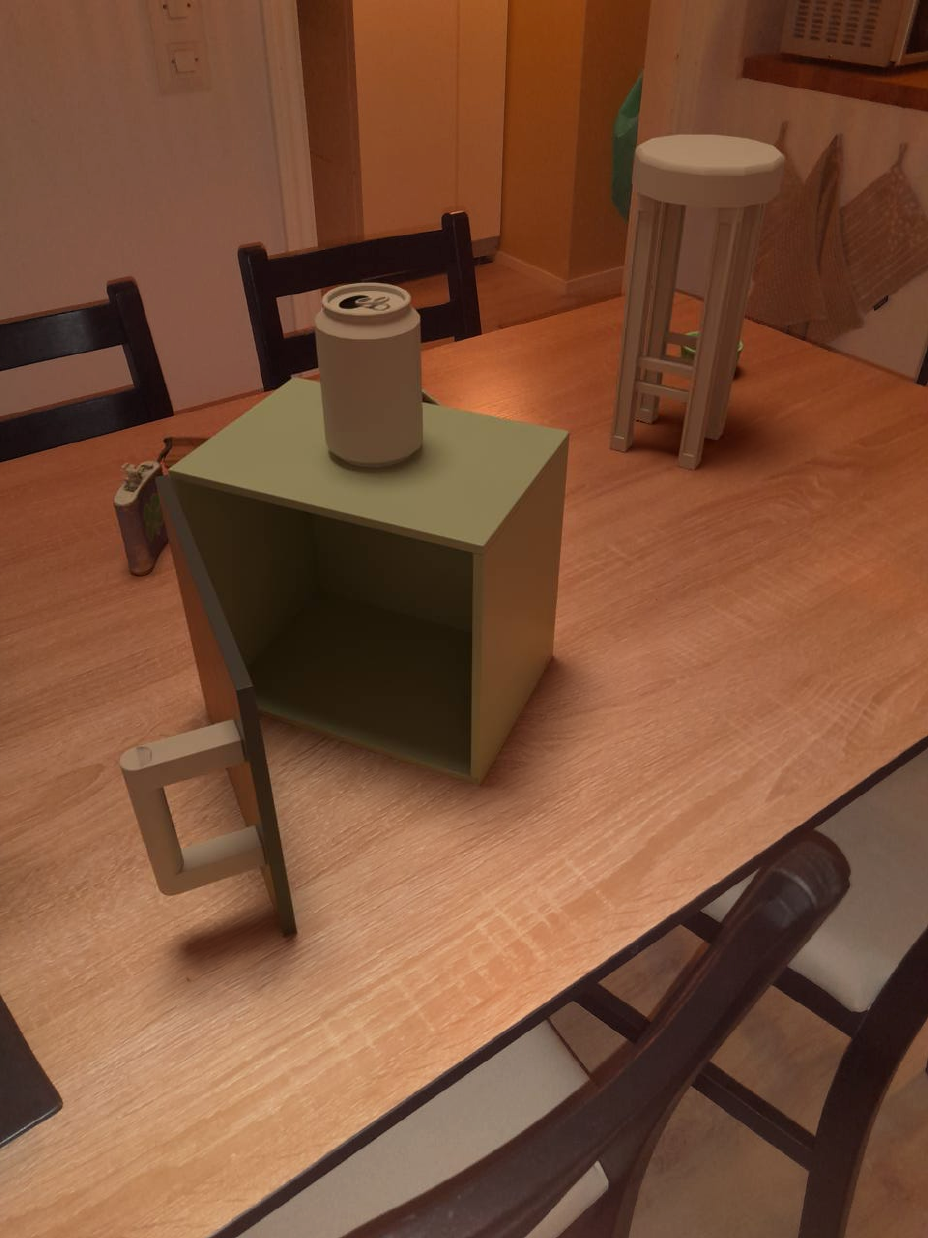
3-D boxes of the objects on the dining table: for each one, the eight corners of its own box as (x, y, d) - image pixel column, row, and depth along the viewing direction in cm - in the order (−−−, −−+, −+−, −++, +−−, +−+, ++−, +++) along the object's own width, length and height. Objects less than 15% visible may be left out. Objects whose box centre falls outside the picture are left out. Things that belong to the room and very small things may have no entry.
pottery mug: (141, 507, 114) (139, 436, 112) (201, 507, 122) (199, 440, 121) (216, 509, 107) (214, 433, 106) (274, 508, 115) (272, 438, 114)
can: (358, 419, 79) (348, 270, 71) (440, 438, 76) (438, 286, 69) (307, 459, 73) (290, 303, 66) (394, 481, 71) (386, 321, 63)
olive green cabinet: (479, 787, 79) (483, 545, 64) (216, 701, 87) (167, 469, 72) (552, 656, 92) (570, 430, 77) (318, 591, 100) (293, 376, 85)
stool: (704, 481, 118) (760, 173, 96) (588, 450, 124) (615, 154, 102) (742, 430, 128) (800, 142, 107) (633, 404, 134) (667, 127, 113)
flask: (149, 578, 102) (127, 489, 95) (122, 576, 102) (98, 487, 95) (179, 530, 109) (161, 445, 102) (154, 528, 109) (134, 443, 103)
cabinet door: (182, 974, 65) (104, 726, 51) (124, 729, 84) (55, 496, 69) (297, 932, 68) (253, 685, 54) (216, 703, 86) (168, 474, 72)
